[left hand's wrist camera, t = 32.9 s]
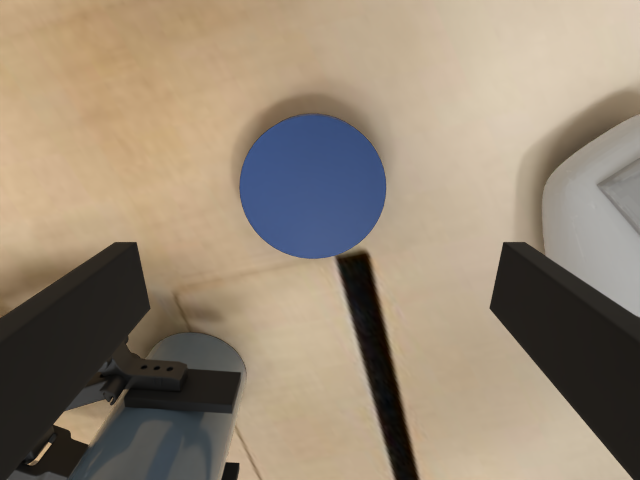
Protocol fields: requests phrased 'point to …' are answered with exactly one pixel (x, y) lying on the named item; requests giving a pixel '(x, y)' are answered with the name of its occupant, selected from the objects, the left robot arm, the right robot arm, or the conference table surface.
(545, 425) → the conference table surface
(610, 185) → the projector
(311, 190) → the lid
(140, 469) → the jar
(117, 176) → the conference table surface
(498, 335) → the conference table surface
